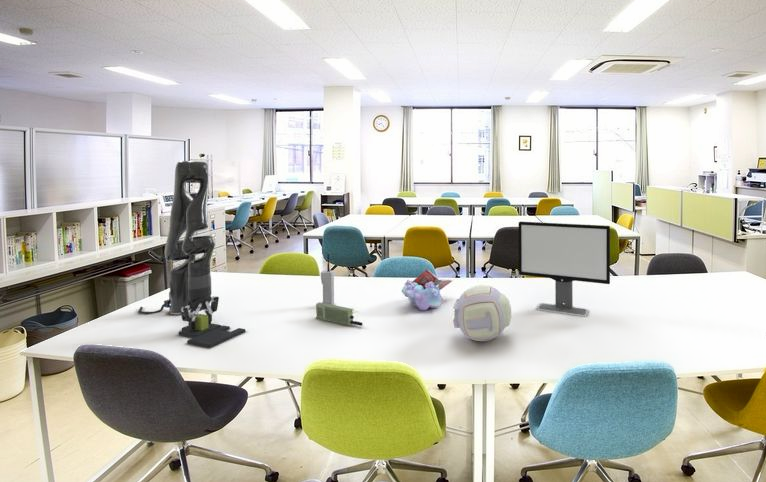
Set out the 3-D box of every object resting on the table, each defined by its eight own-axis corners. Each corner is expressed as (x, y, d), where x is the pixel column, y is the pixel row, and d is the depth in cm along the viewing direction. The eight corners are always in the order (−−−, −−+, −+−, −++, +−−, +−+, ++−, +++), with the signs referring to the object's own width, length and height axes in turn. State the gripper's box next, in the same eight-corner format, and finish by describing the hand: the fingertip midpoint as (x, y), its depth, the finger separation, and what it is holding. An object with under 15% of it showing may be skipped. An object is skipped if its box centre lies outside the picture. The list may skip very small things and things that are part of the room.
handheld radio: (321, 316, 163) (364, 325, 152) (315, 319, 160) (359, 329, 149) (320, 301, 162) (364, 309, 152) (314, 304, 159) (358, 313, 149)
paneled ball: (456, 326, 151) (455, 278, 151) (509, 326, 150) (509, 278, 150) (450, 351, 130) (450, 295, 130) (512, 351, 129) (512, 296, 129)
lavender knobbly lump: (395, 303, 164) (416, 269, 164) (399, 286, 185) (417, 256, 186) (434, 324, 167) (454, 290, 167) (434, 305, 188) (452, 275, 189)
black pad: (199, 324, 155) (199, 309, 155) (221, 327, 151) (221, 312, 151) (173, 334, 145) (173, 318, 145) (196, 338, 141) (196, 322, 141)
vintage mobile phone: (323, 304, 176) (322, 253, 176) (334, 304, 177) (333, 253, 176) (320, 307, 173) (320, 255, 172) (331, 307, 173) (331, 255, 173)
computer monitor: (517, 307, 172) (517, 222, 171) (522, 301, 180) (522, 220, 179) (609, 320, 157) (609, 227, 156) (610, 312, 164) (610, 224, 164)
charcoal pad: (187, 343, 137) (187, 340, 137) (223, 328, 151) (223, 325, 151) (210, 348, 134) (210, 344, 134) (245, 331, 147) (245, 329, 147)
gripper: (211, 279, 155) (211, 318, 156) (173, 290, 142) (174, 333, 142) (223, 281, 153) (224, 321, 153) (187, 292, 139) (188, 335, 140)
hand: (200, 326), depth 148 cm, fingers open, 5 cm apart
